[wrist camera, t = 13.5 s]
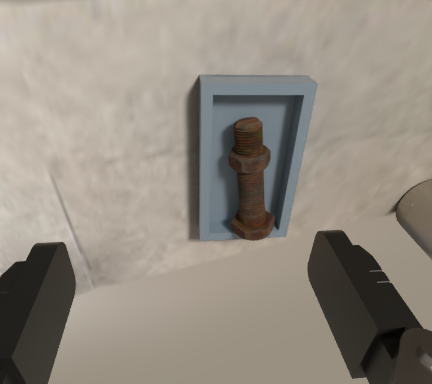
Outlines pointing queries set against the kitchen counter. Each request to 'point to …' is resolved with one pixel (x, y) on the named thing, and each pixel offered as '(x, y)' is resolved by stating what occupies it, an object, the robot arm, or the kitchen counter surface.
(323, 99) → the kitchen counter surface
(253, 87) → the parts tray
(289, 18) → the kitchen counter surface
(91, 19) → the kitchen counter surface
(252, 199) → the bolt
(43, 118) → the kitchen counter surface
